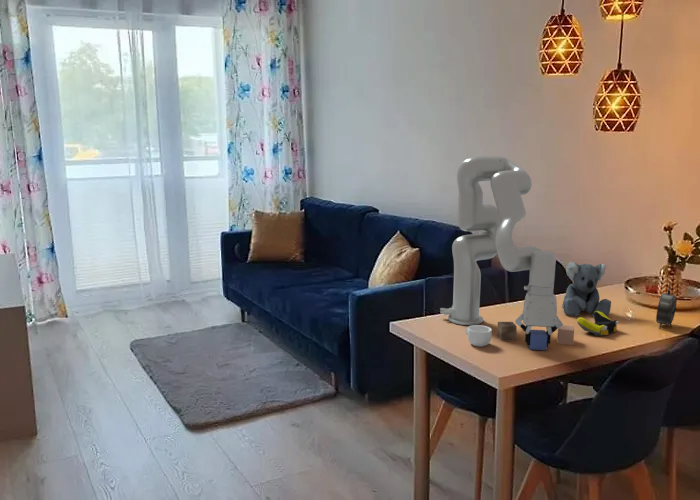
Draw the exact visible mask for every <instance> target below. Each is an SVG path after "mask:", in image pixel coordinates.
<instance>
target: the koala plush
mask: <svg viewBox="0 0 700 500" xmlns="http://www.w3.org/2000/svg"><path fill="white" fill-rule="evenodd" d="M565 269H566V271H565V272H566V275H567V277H568V278H569V279H570V280H571V281H573V283H570V284H569V285H568V287H567V288H566V290H565V295H564V297H563V301H562V303H561V305H562V309H563V313H564V314H565V315H567V316H569V317H578V316H579V315H580V314H581V312H582V311H585V312H586V313H588V314H590V315H592V316H593V313H594V312H596V311H599V312H602V313H603V314H605V315H606V316H607V317H608V316H610V315H609V314H610V312H611V308H612V300H610V299H607V298H602V299H601V300H600V298H601V297H600V293H599V290H598V288H597V285H598V282H599V281H601V280H602V278H603V277H604V276H605V274H606V269H607V265H606V264H603V263H601V264H600V263H598V264H597V265H595V266H594V265H592V264H589V263H583V264H578V263H576V262H573V261H570V262H569V263H568V264H566V266H565ZM569 279H568V280H569Z"/></svg>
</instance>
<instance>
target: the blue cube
mask: <svg viewBox="0 0 700 500" xmlns="http://www.w3.org/2000/svg"><path fill="white" fill-rule="evenodd" d="M546 331H547V330H545V329H530V334H531V336H530V346H528V347H529V350H536V351H537V350H538V351H547V348H548V347H547V333H546Z"/></svg>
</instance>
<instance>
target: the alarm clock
mask: <svg viewBox="0 0 700 500" xmlns="http://www.w3.org/2000/svg"><path fill="white" fill-rule="evenodd" d="M671 286H672V285H671V281H670V282H668V287H667V289H668V290H667V293H666V292H663V293H661V295H660V297H659V300H658V305H657V309H656V314H655V315H656V316H655V318H656V319H655V320H656V323H657V324H659V327H658V329H659V330H660V329H662V325H665V326H666V325H667V326H669V325H670V327H671V328H673V326H672V323H673V321H674V318H675V313H676V312H677V309H678V308H677V303H678V302H677V300H678V299H677V297H676V295H674V294H671Z"/></svg>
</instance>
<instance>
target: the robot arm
mask: <svg viewBox="0 0 700 500" xmlns="http://www.w3.org/2000/svg"><path fill="white" fill-rule="evenodd" d="M456 173H457V174H456V181H457V187H458V188H457V189H458V200H457V201H458V202H457V225H458V228H459V229H460V230H461V231H464V232H478V233H475V234H474V233H472V234H465V235H461V236H458V237H457V238H456V239H455V240H454V241H453V243H452V246H451V249H452V250H451V251H452V257H453V258H452V259H453V293H452V295H453V296H452V297H453V298H452V305H451V307H449V308H445V307H440V308H439V310H440V311H439V312H440V314H443V316H445V315H446V316H448V317H447V318H448V319H447V320H448V322H451V323H453V324H456V325H460V326H461V325H462V326H472V325H480V324H481V323H483V322H484V318H483V316H481V315H480V304H481V303H480V301H481V299H480V298H481V282H482V281H481V277H482V275H481V270H480V267H479V265H478V263H477V261H483V260H490V259H492V258H494V257H495V256H496V255H497V256H498V260H499V262H500V265H501V266H502V268H503V269H504V270H506V271H508V272H510V273H512V272H513V273H514V272H522V271H529V279H528V280H529V281H528V285H523V286H524V287H523V289H524V291H527V292H526V293H525V294H526V295H525V297H524V303H523V307H522V308H523V309H522V313H521V314H520V315H519V316H518V317H517V318H516V319H515V320H514V322H515V325H516V326H518V327H519V328H521V329H522V331H523V332H524V333H525V334H524V336H525V337H524V342H525V343H526V345H527V347H529V346H530V336H531V334H530V330H532V328H533V327H538V328H539V327H544V328H546V330H545V331H546V333H547V347H546V348H549V344H551V339H552V337H551V336H552V335H553V333H555V332H556V331H558V328H560V327H561V326H563V325H564V324H563V322H562V321H561V319H560V318H559V316H557V315H558V314H557V313H558V306H557V303H558V302H557V296H556V294H554V288H555V276H556V264H557V263H556V262H557V256H556V254H555V252H553V251H548V250H542V249H541V248H539V247H536V246H532V245H531V246H530V245H529V246H528V245H527V246H519V247H515V245H514V242H513V231H514V228H515V226H516V225H517V223H518V222H521V220H523V219H524V218H525V217H526V215H527V213H526V208H525V206H524V202H523V198H522V196H524V195H527V194H528V193H529V192H530V191H531V189H532V179H531V177H530V174H529V173H528V172H527V171H526V170H524V168H522V167H521V166H519V165H517V164H516V163H514V162H513V161H511V160H510V159H508V158H506V157H504V156H501V155H500V156H474V157H473V156H472V157H468V158H466V159H465V160H463V161H462V162H461V163H460V164H459V166H458V169H457V172H456ZM481 182H490V189H491V192H492V194H493V199H494V201H495V205H493V204H492V203H484V202H483V200H484V199H483V198H484V197H483V196H484V192H483V189H482V186H481V185H480V183H481ZM522 321H523V322H522Z"/></svg>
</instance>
